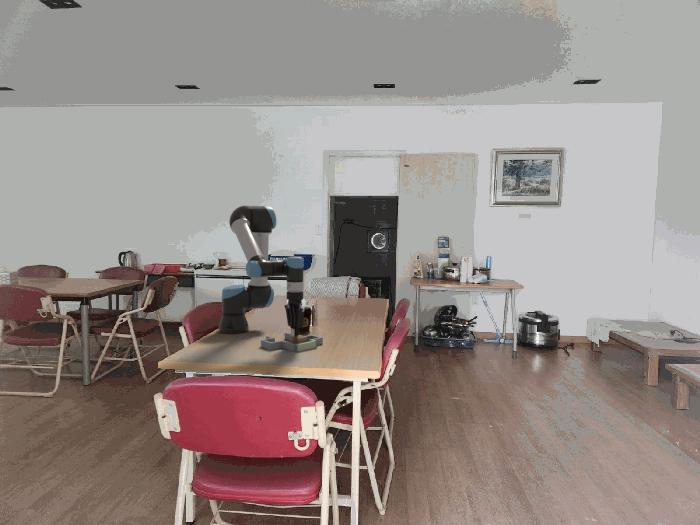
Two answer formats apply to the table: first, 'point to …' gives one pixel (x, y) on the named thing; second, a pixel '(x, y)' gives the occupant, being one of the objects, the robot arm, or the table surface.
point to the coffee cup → (306, 321)
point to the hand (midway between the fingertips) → (294, 342)
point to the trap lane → (311, 343)
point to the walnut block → (298, 339)
